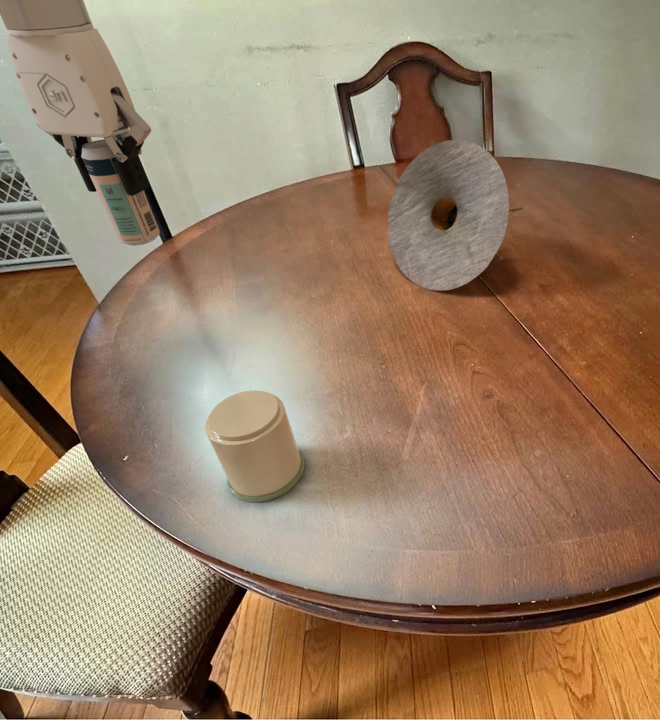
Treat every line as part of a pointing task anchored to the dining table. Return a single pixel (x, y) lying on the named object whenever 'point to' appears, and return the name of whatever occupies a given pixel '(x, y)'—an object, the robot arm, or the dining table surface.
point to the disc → (448, 215)
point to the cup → (255, 445)
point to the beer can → (119, 197)
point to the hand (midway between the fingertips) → (119, 188)
